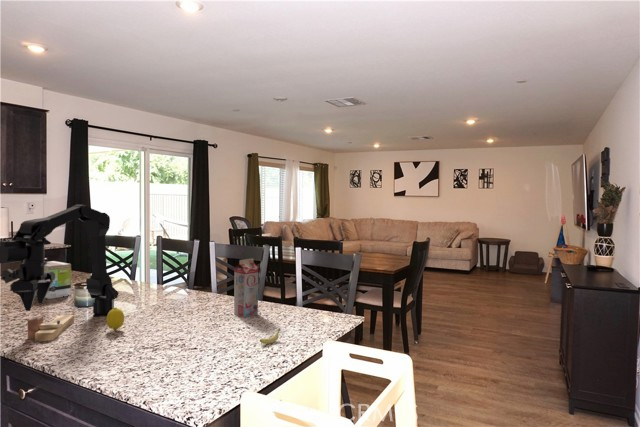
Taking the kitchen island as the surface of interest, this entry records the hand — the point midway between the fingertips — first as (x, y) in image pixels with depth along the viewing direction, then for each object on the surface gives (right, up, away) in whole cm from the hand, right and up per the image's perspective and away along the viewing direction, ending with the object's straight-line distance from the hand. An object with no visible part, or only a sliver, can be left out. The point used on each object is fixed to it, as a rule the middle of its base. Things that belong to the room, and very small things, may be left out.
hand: (34, 307), depth 139 cm
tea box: (-29, -7, +56) cm, 63 cm away
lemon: (+23, -10, +8) cm, 26 cm away
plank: (+3, -10, +7) cm, 12 cm away
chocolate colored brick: (+3, -10, +1) cm, 10 cm away
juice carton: (+64, -10, +31) cm, 71 cm away
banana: (+77, -12, -1) cm, 78 cm away
